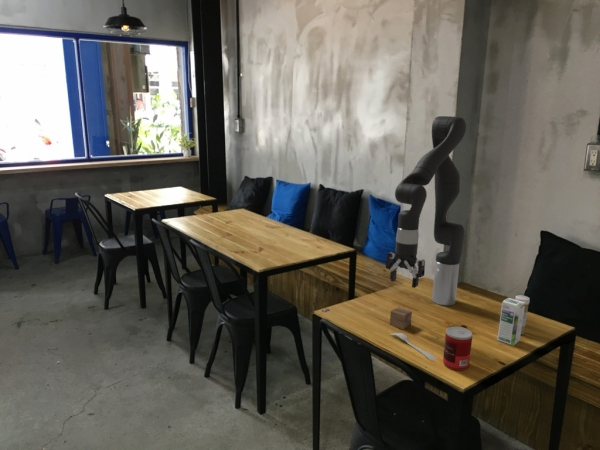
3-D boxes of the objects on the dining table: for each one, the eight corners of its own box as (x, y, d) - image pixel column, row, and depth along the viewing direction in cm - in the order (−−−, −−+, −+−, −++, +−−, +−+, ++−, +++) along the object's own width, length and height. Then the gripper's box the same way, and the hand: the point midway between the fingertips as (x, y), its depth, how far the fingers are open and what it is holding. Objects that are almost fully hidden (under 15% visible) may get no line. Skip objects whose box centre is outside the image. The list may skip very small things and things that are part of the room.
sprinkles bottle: (508, 329, 172) (513, 294, 168) (520, 329, 172) (525, 294, 169) (515, 335, 167) (520, 299, 164) (527, 335, 168) (532, 299, 164)
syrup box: (496, 340, 163) (501, 301, 160) (503, 335, 167) (509, 296, 164) (513, 346, 159) (519, 306, 156) (520, 340, 163) (526, 301, 160)
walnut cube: (397, 320, 177) (398, 306, 176) (410, 325, 174) (412, 311, 172) (389, 324, 173) (390, 310, 172) (402, 329, 170) (404, 315, 168)
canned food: (471, 362, 149) (475, 329, 146) (465, 373, 142) (469, 340, 139) (446, 355, 152) (449, 323, 150) (439, 366, 146) (443, 333, 143)
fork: (430, 368, 150) (432, 360, 149) (387, 335, 166) (388, 328, 165) (437, 366, 151) (438, 358, 150) (393, 333, 167) (394, 326, 167)
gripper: (430, 242, 164) (426, 286, 168) (395, 234, 173) (392, 276, 177) (420, 246, 158) (416, 292, 162) (383, 238, 168) (380, 281, 172)
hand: (403, 284), depth 170 cm, fingers open, 8 cm apart
